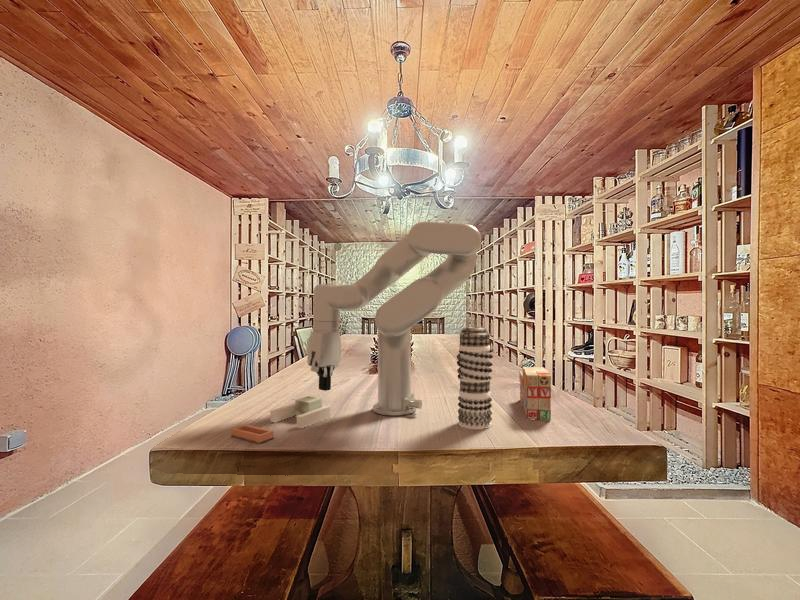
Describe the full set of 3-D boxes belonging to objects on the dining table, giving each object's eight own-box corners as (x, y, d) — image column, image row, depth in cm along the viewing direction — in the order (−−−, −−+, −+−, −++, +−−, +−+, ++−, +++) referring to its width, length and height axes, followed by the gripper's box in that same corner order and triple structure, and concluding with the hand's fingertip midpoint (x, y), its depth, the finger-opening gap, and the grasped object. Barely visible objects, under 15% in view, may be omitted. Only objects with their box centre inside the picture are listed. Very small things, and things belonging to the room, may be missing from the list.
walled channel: (330, 417, 115) (330, 406, 115) (301, 428, 105) (301, 417, 105) (300, 411, 121) (300, 401, 121) (270, 422, 111) (270, 410, 111)
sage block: (321, 416, 117) (321, 398, 116) (309, 421, 112) (308, 402, 112) (308, 413, 119) (308, 396, 119) (295, 418, 115) (295, 400, 115)
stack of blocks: (519, 400, 132) (519, 361, 132) (540, 401, 131) (540, 361, 131) (526, 420, 112) (526, 374, 111) (551, 421, 110) (551, 375, 110)
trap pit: (273, 438, 99) (273, 431, 98) (260, 443, 95) (259, 436, 95) (245, 431, 104) (245, 424, 104) (231, 436, 100) (231, 428, 100)
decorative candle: (499, 428, 104) (498, 328, 104) (463, 431, 103) (462, 329, 102) (485, 418, 113) (485, 325, 113) (452, 420, 112) (452, 326, 111)
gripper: (333, 324, 130) (331, 383, 131) (298, 327, 118) (296, 392, 118) (352, 326, 127) (350, 386, 127) (318, 329, 114) (316, 396, 114)
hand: (324, 389), depth 122 cm, fingers closed
